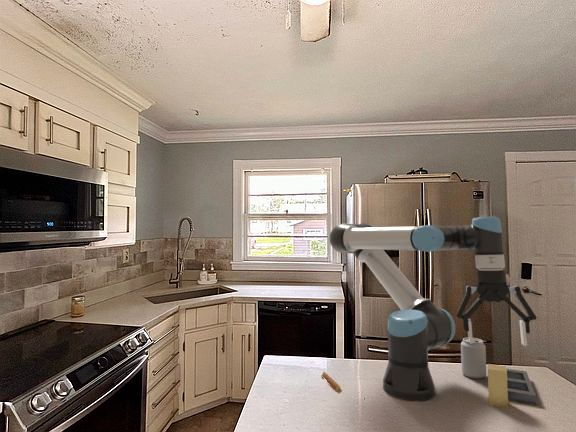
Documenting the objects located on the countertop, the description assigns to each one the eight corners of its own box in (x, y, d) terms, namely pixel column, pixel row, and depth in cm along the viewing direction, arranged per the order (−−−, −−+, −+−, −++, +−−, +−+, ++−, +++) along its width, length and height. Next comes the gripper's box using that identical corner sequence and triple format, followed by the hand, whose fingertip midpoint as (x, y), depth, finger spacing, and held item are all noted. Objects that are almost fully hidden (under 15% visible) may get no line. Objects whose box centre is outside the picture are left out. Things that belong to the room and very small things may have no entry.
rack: (499, 398, 105) (498, 389, 105) (495, 374, 123) (495, 367, 123) (536, 404, 101) (536, 395, 101) (526, 379, 119) (526, 371, 119)
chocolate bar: (335, 393, 110) (335, 385, 110) (320, 378, 121) (320, 371, 121) (342, 392, 111) (342, 384, 111) (327, 377, 122) (327, 370, 122)
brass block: (489, 405, 101) (488, 369, 101) (488, 398, 105) (487, 363, 105) (508, 408, 99) (506, 371, 99) (506, 402, 103) (505, 366, 103)
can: (489, 380, 118) (488, 343, 119) (465, 378, 119) (464, 342, 120) (482, 372, 125) (481, 336, 126) (459, 370, 127) (458, 335, 127)
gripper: (445, 270, 106) (451, 344, 104) (544, 269, 98) (552, 349, 96) (443, 269, 113) (448, 338, 111) (535, 267, 105) (543, 342, 103)
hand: (497, 343), depth 104 cm, fingers open, 13 cm apart
